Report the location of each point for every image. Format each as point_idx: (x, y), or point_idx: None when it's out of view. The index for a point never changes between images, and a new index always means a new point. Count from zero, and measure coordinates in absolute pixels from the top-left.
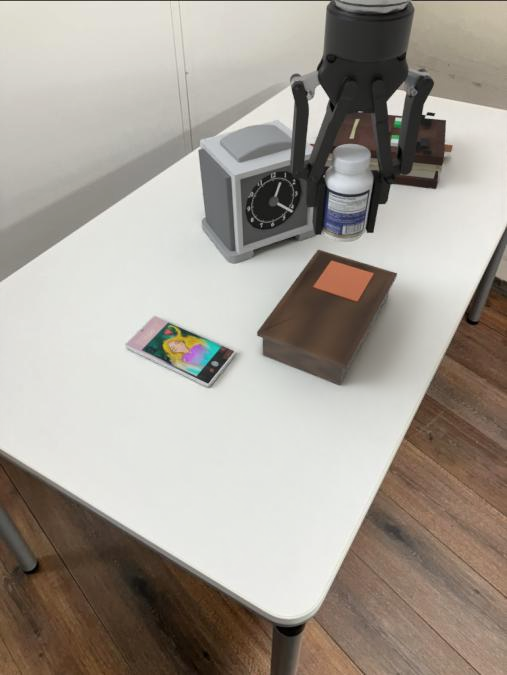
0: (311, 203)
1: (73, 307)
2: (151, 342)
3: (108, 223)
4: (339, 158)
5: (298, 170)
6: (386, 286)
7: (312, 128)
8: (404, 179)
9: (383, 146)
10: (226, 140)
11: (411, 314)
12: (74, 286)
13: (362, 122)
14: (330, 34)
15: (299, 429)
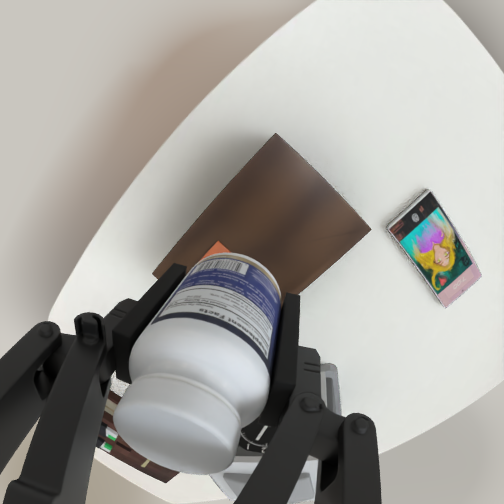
0: (306, 354)
1: (491, 338)
2: (461, 271)
3: (417, 429)
4: (221, 442)
5: (358, 435)
6: (171, 256)
7: (184, 473)
8: (114, 398)
9: (65, 414)
10: (308, 496)
11: (155, 225)
12: (479, 363)
13: (139, 462)
14: None
15: (348, 97)
